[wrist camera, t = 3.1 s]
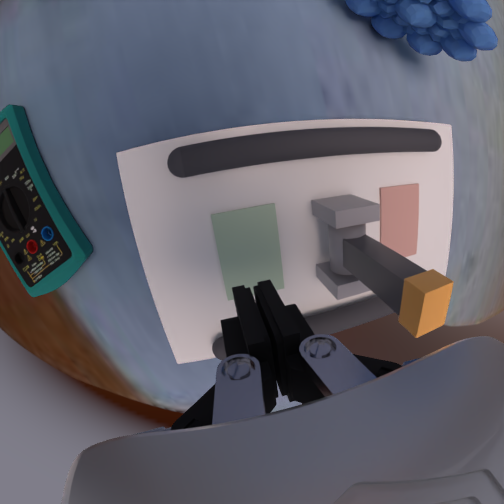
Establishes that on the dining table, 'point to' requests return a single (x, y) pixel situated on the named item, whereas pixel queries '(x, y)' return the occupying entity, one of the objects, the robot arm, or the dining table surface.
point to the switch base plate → (278, 224)
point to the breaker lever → (391, 278)
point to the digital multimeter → (34, 212)
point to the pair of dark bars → (302, 147)
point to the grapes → (432, 24)
